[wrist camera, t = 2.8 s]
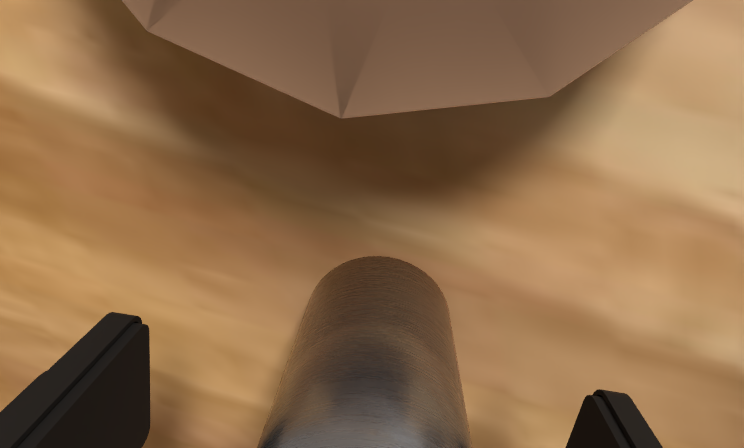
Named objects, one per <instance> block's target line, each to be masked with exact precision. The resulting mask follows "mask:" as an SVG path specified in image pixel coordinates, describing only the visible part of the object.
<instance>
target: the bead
mask: <svg viewBox="0 0 744 448" xmlns="http://www.w3.org/2000/svg"><path fill="white" fill-rule="evenodd" d="M122 1H123V3H124V4H125V5H126V6H127V7H128V9H129V10H130V11H131V12H132V14H133V15H134V16H135V17H136V18H137V20H138V21H139V22H140V23H141V25H142V26H143V27H144V28H145V30H146V31H147V32H150V33H152V34H154V35H157V36H159V37H161V38H163V39H165V40H168V41H170V42H172V43H174V44H177V45H179V46H181V47H183V48H185V49H188V50H190V51H192V52H194V53H196V54H199V55H201V56H203V57H205V58H208V59H210V60H212V61H214V62H216V63H219V64H221V65H223V66H225V67H228V68H230V69H232V70H234V71H236V72H239V73H241V74H243V75H245V76H247V77H250V78H252V79H254V80H256V81H259V82H261V83H263V84H265V85H267V86H270V87H272V88H274V89H276V90H279V91H281V92H283V93H285V94H287V95H290V96H292V97H294V98H296V99H298V100H301V101H303V102H305V103H307V104H310V105H312V106H314V107H316V108H318V109H321V110H323V111H325V112H327V113H330V114H332V115H334V116H336V117H338V118H340V119H342V118H352V117H361V116H371V115H381V114H390V113H400V112H410V111H419V110H429V109H439V108H448V107H458V106H467V105H477V104H487V103H496V102H506V101H516V100H525V99H535V98H545V97H550V96H552V95H553V94H555V93H556V92H558V91H559V90H561V89H562V88H564V87H565V86H566V85H568V84H569V83H571V82H572V81H574V80H575V79H577V78H578V77H580V76H581V75H583V74H584V73H586V72H587V71H589V70H590V69H592V68H593V67H595V66H596V65H598V64H599V63H601V62H602V61H604V60H605V59H607V58H608V57H610V56H611V55H612V54H614V53H615V52H617V51H618V50H620V49H621V48H623V47H624V46H626V45H627V44H629V43H630V42H632V41H633V40H635V39H636V38H638V37H639V36H641V35H642V34H644V33H645V32H647V31H648V30H650V29H651V28H653V27H654V26H656V25H657V24H658V23H660V22H661V21H663V20H664V19H666V18H667V17H669V16H670V15H672V14H673V13H675V12H676V11H678V10H679V9H681V8H682V7H684V6H685V5H687V4H688V3H690V2H691V1H693V0H122Z"/></svg>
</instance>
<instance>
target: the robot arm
mask: <svg viewBox="0 0 744 448" xmlns="http://www.w3.org/2000/svg"><path fill="white" fill-rule="evenodd" d="M149 429H150V354H149V327H148V325H145V324H142V320H141V318H140V317H139V316H134V315H127V314H121V313H115V312H111V313H109V314H107V315H106V316H105V317H104V318H103V319H102V320H101V321H99V322H98V323H97V324H96V325H95V326H94V327H93V328H92V329H91V330H90V331H89V332H88V333H87V334H86V335H85V336H84V337H83V338H82V339H80V340H79V341H78V342H77V343H76V344H75V345H74V346H73V347H72V348H71V349H70V350H69V351H68V352H67V353H66V354H65V355H64V356H63V357H61V358H60V359H59V360H58V361H57V362H56V363H55V364H54V365H53V366H52V367H51V368H50V369H49V370H48V371H45V372H44V373H42V374H41V375H40V376H38V377H37V378H36V379H35V380H34V381H33V382H32V383H31V384H30V385H29V386H28V387H27V388H26V389H25V390H23V391H22V392H21V393H20V394H19V395H18V396H17V397H16V398H15V399H14V400H13V401H12V402H11V403H10V404H9V405H7V406H6V407H5V408H4V409H3V410H2V411H1V412H0V448H142V446H143V445H144V443H145V441H146V439H147V436H148V433H149ZM566 448H663V447H662V446H661V444H660V443H659V441H658V439H657V438H656V436H655V435H654V433H653V432H652V430H651V429H650V427H649V426H648V424H647V422H646V421H645V419H644V418H643V416H642V415H641V413H640V412H639V410H638V409H637V407H636V405H635V404H634V402H633V401H632V399H631V398H630V397H629V396H628V395H627V394H625V393H619V392H612V391H606V390H596V391H595V392H594V393H593V395H587V396H586V397H585V399H584V401H583V404H582V406H581V409H580V412H579V414H578V417H577V419H576V422H575V425H574V427H573V430H572V433H571V435H570V438H569V440H568V443H567V446H566Z"/></svg>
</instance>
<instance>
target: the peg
mask: <svg viewBox="0 0 744 448" xmlns="http://www.w3.org/2000/svg"><path fill="white" fill-rule="evenodd" d="M257 448H472V444H471V438H470V432H469V427H468V421H467V415H466V409H465V403H464V397H463V392H462V386H461V380H460V374H459V368H458V362H457V356H456V351H455V345H454V339H453V333H452V327H451V321H450V315H449V310H448V306H447V302H446V300H445V297H444V295H443V293H442V291H441V290H440V288H439V287H438V285H437V284H436V283H435V282H434V281H433V280H432V278H430V277H429V276H428V275H427V274H426V273H425V272H423V271H422V270H420V269H419V268H417V267H415V266H414V265H412V264H410V263H407V262H404V261H402V260H399V259H394V258H390V257H381V256H373V257H363V258H358V259H354V260H351V261H348V262H346V263H343V264H341V265H340V266H338V267H336V268H334V269H333V270H332V271H330V272H329V273H328V274H327V275H326V276H325V277H324V278H323V279H322V280H321V281H320V282H319V284H318V285H317V286H316V288H315V290H314V291H313V293H312V296H311V298H310V301H309V304H308V307H307V310H306V312H305V315H304V318H303V321H302V324H301V326H300V329H299V332H298V335H297V338H296V340H295V343H294V346H293V349H292V352H291V354H290V357H289V360H288V363H287V366H286V368H285V371H284V374H283V377H282V380H281V382H280V385H279V388H278V391H277V394H276V396H275V399H274V402H273V405H272V408H271V410H270V413H269V416H268V419H267V422H266V424H265V427H264V430H263V433H262V436H261V438H260V441H259V444H258V447H257Z"/></svg>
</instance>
